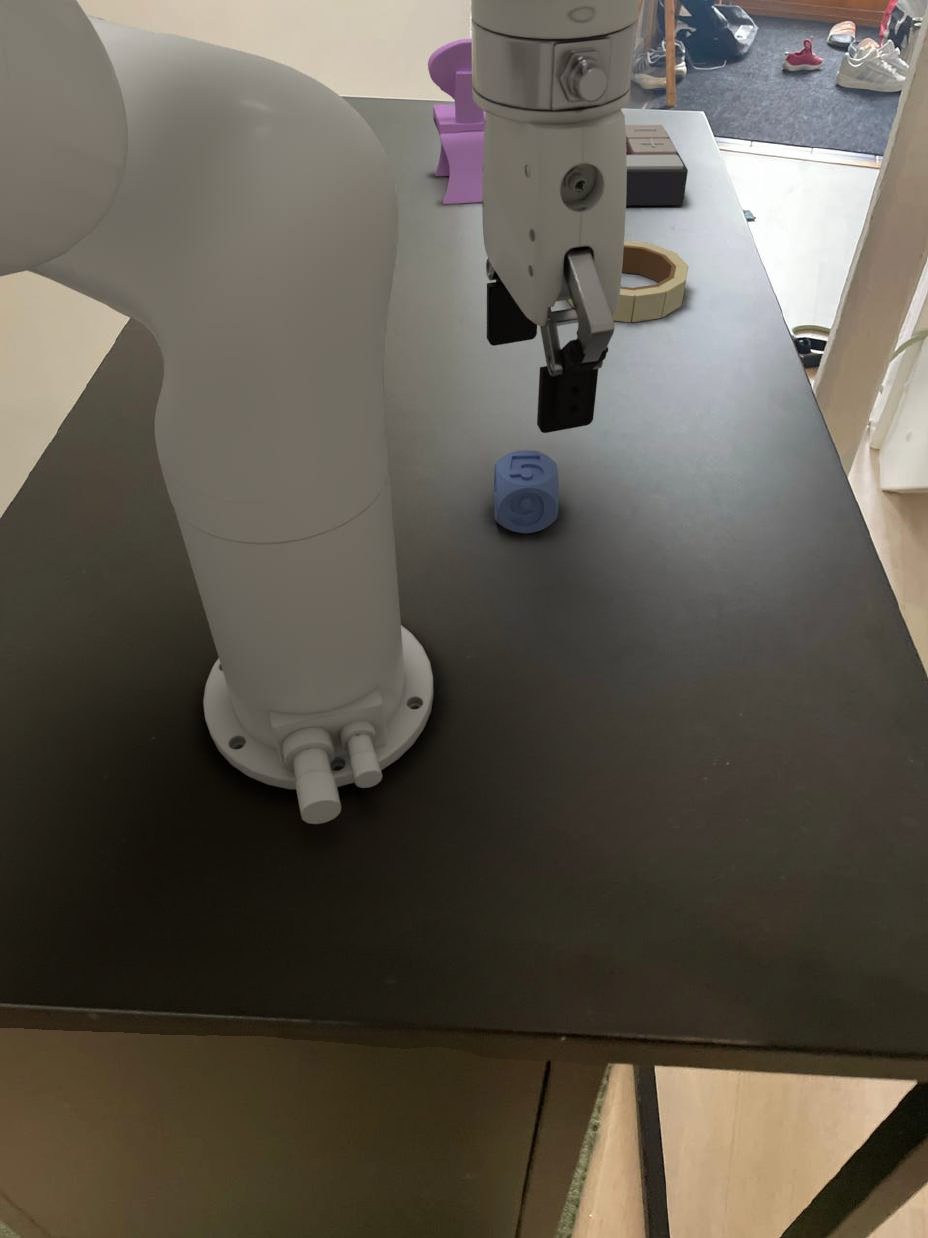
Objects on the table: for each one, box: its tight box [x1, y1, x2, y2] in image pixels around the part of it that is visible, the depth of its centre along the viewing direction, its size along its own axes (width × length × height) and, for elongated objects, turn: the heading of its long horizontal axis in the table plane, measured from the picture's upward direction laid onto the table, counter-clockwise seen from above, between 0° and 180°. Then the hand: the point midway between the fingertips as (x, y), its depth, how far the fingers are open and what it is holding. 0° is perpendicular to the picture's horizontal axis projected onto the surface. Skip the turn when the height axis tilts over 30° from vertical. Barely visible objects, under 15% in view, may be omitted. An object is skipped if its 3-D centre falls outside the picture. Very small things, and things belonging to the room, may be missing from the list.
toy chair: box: [427, 38, 486, 205], centre depth 96 cm, size 8×9×15 cm
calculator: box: [625, 124, 689, 206], centre depth 101 cm, size 11×4×15 cm
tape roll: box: [567, 239, 689, 323], centre depth 83 cm, size 11×11×2 cm
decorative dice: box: [493, 449, 560, 534], centre depth 61 cm, size 4×4×4 cm
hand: (536, 380), depth 55 cm, fingers open, 9 cm apart
